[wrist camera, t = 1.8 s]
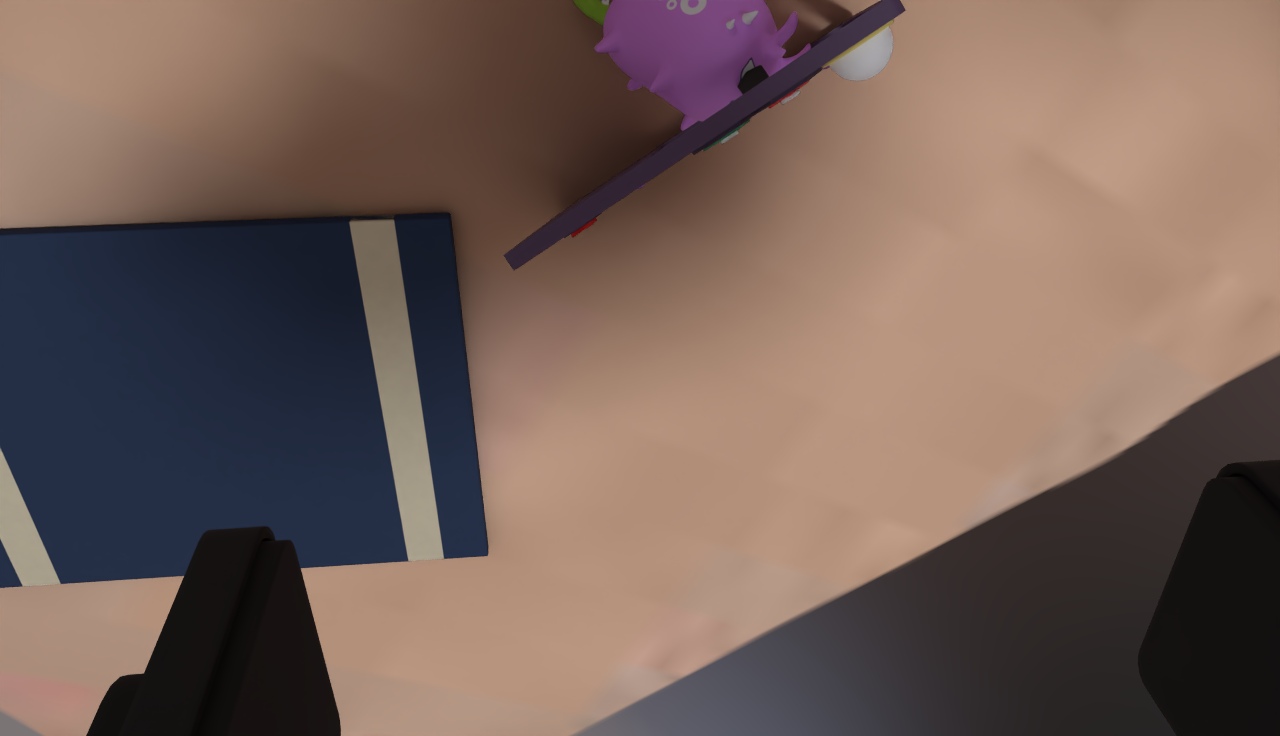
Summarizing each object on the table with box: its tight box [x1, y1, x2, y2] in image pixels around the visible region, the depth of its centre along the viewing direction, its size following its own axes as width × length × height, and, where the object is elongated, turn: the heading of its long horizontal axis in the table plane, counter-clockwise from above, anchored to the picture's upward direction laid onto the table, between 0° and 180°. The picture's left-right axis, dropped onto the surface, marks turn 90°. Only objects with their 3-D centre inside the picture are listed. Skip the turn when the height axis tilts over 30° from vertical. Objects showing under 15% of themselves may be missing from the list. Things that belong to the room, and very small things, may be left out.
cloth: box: [0, 213, 488, 588], centre depth 28 cm, size 16×12×1 cm
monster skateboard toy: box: [503, 0, 905, 270], centre depth 22 cm, size 7×5×9 cm
